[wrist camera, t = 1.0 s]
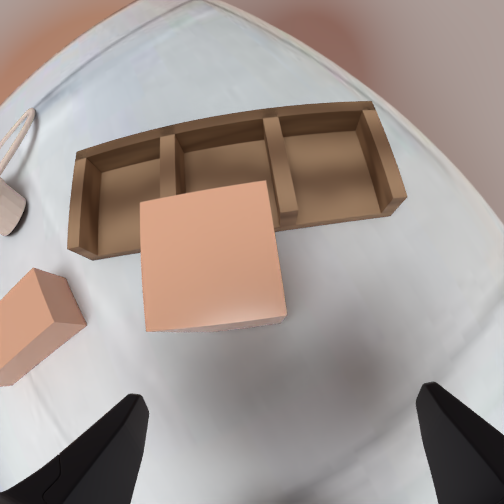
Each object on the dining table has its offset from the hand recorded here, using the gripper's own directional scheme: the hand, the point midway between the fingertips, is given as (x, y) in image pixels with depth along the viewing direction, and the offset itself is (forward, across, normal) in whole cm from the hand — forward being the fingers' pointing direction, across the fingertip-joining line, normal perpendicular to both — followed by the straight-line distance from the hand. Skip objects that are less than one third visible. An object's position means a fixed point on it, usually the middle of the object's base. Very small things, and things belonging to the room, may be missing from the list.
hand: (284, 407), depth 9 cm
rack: (+20, +4, -3) cm, 20 cm away
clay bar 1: (+12, +23, +8) cm, 27 cm away
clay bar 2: (+14, +3, +4) cm, 15 cm away
